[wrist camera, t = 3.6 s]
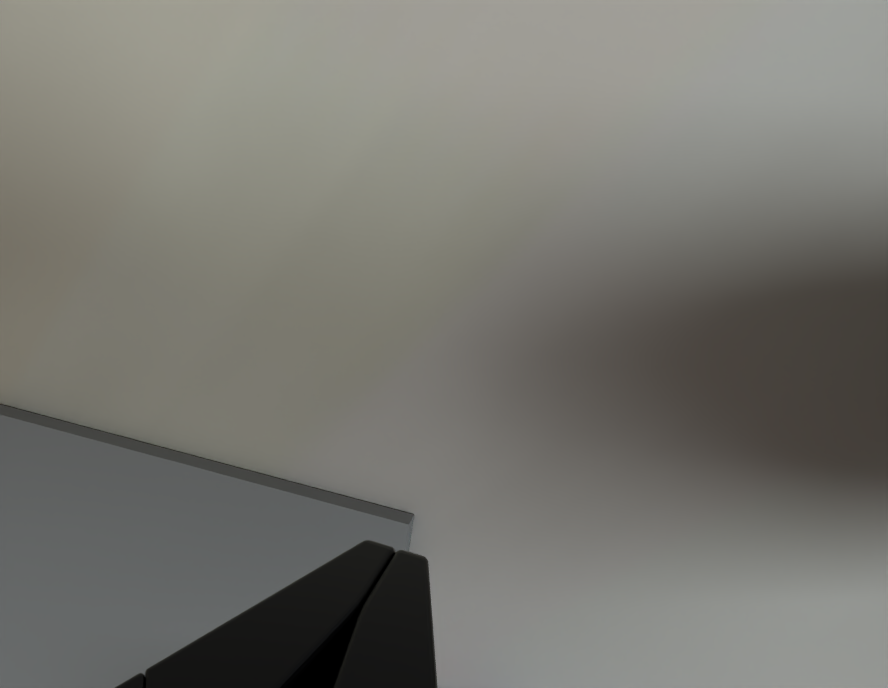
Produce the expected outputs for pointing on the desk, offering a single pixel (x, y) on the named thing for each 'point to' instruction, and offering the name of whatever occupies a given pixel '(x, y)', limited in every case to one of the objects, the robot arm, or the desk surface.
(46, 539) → the mat
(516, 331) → the desk surface
